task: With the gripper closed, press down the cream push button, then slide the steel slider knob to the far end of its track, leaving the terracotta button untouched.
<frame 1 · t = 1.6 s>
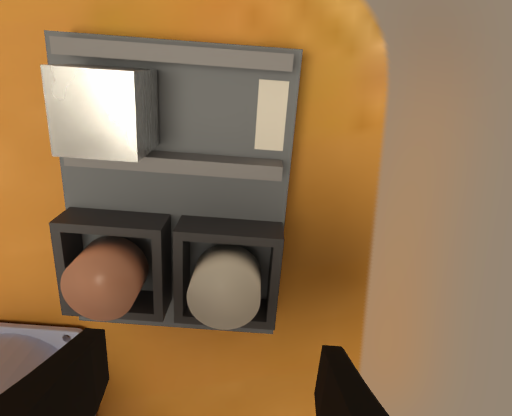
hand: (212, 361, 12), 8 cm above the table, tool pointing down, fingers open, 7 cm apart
terracotta button: (107, 277, 16), point 4 cm above the table, slide at 0.0 cm
cream button: (225, 285, 16), point 4 cm above the table, slide at 0.0 cm
slider knob: (107, 110, 14), point 4 cm above the table, slide at 0.0 cm
control panel: (183, 189, 19), on the table
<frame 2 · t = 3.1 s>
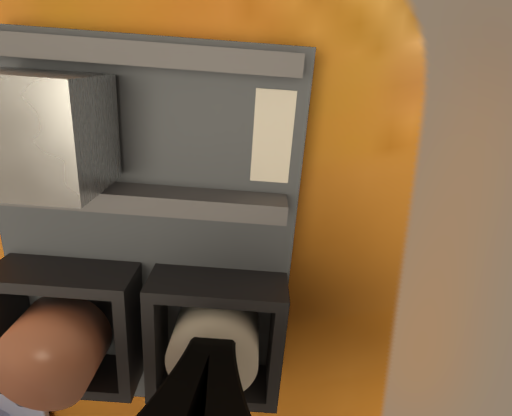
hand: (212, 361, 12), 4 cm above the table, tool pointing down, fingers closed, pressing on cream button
terracotta button: (54, 350, 12), point 4 cm above the table, slide at 0.0 cm
cream button: (215, 342, 13), point 3 cm above the table, slide at 0.9 cm, touching gripper
slider knob: (42, 132, 10), point 4 cm above the table, slide at 0.0 cm
control panel: (161, 226, 15), on the table
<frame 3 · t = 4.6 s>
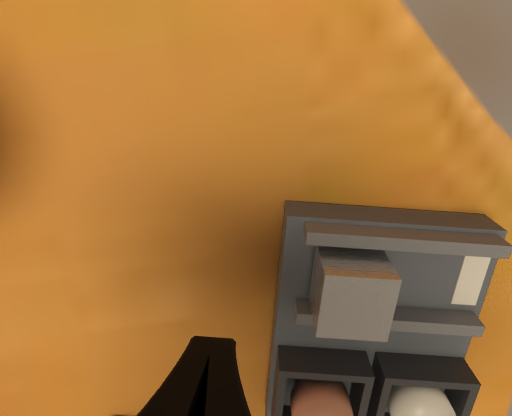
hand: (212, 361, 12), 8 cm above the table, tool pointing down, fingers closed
terracotta button: (321, 413, 19), point 4 cm above the table, slide at 0.0 cm
cream button: (417, 405, 20), point 3 cm above the table, slide at 0.9 cm
slider knob: (350, 290, 17), point 4 cm above the table, slide at 0.0 cm
control panel: (362, 318, 22), on the table
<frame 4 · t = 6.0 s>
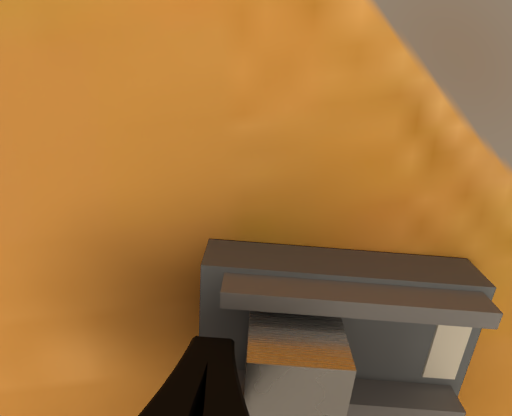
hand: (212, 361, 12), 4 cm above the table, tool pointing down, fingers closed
slider knob: (292, 370, 12), point 4 cm above the table, slide at 0.4 cm, touching gripper
control panel: (315, 383, 17), on the table
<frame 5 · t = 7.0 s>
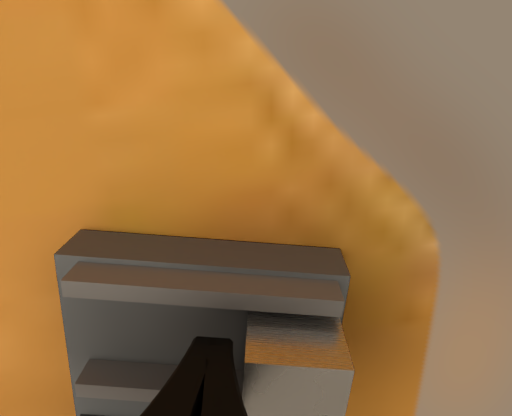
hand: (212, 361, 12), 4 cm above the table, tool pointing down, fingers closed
slider knob: (290, 370, 12), point 4 cm above the table, slide at 5.2 cm, touching gripper
control panel: (206, 374, 17), on the table
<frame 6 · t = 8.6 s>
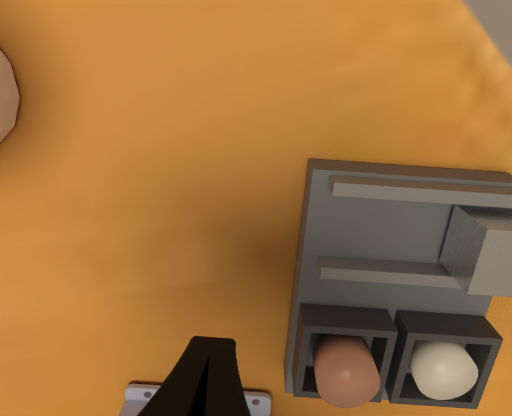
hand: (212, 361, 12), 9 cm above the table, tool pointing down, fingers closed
terracotta button: (344, 368, 19), point 4 cm above the table, slide at 0.0 cm
cream button: (438, 362, 20), point 3 cm above the table, slide at 0.9 cm
slider knob: (494, 249, 17), point 4 cm above the table, slide at 5.3 cm
control panel: (382, 280, 22), on the table
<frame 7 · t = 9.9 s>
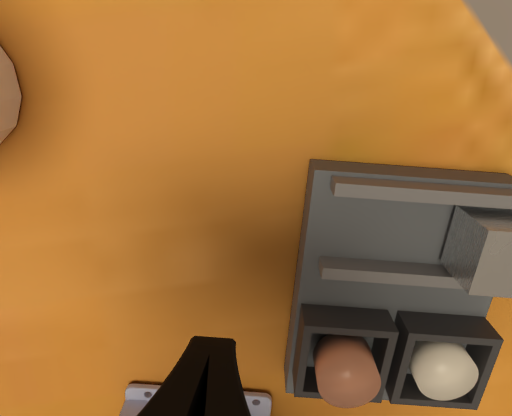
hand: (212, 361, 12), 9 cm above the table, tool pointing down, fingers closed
terracotta button: (345, 368, 19), point 4 cm above the table, slide at 0.0 cm
cream button: (439, 363, 20), point 3 cm above the table, slide at 0.9 cm
slider knob: (495, 250, 17), point 4 cm above the table, slide at 5.3 cm
control panel: (382, 281, 22), on the table
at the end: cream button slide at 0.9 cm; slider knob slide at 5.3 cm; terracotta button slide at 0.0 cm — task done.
